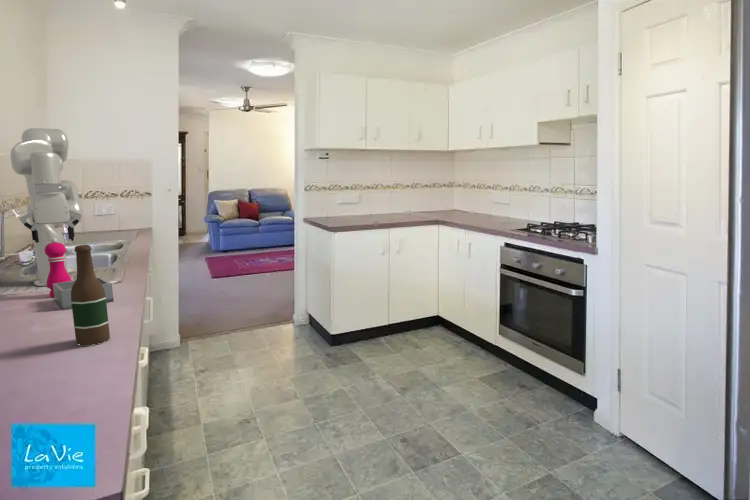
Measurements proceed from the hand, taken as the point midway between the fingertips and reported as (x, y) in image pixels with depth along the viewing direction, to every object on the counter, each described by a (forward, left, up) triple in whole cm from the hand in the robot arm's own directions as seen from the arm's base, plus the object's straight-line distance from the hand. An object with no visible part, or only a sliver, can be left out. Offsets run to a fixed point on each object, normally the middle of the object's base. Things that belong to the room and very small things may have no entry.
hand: (54, 240), depth 160 cm
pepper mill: (-1, 0, -19) cm, 19 cm away
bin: (+14, +4, -19) cm, 24 cm away
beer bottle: (+59, -3, -19) cm, 63 cm away
